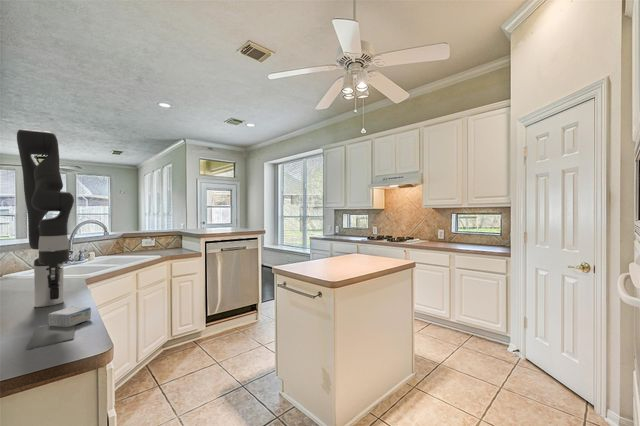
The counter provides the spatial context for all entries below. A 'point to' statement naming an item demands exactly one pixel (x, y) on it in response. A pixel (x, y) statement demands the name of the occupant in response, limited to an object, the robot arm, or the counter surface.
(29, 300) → the counter surface
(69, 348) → the counter surface
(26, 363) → the counter surface
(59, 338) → the mat
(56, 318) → the medicine box
